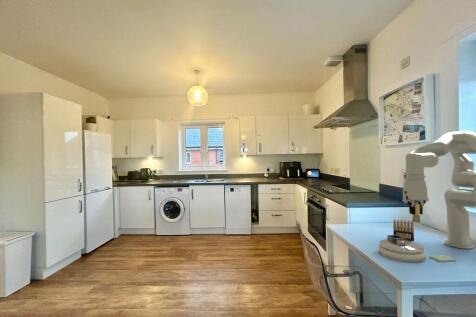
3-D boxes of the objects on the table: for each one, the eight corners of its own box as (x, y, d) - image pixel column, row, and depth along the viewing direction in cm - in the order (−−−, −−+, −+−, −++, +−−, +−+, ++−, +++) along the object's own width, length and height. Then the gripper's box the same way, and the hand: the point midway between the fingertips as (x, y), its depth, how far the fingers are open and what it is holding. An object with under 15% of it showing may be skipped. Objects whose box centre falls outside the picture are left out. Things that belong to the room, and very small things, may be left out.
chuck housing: (405, 247, 143) (405, 241, 143) (436, 261, 123) (436, 254, 123) (370, 249, 141) (370, 242, 141) (396, 263, 121) (396, 256, 121)
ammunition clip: (393, 238, 160) (392, 219, 160) (393, 237, 162) (392, 218, 162) (414, 241, 154) (413, 221, 154) (414, 240, 156) (413, 220, 156)
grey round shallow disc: (374, 241, 143) (374, 234, 143) (411, 242, 140) (411, 235, 140) (388, 253, 124) (388, 245, 124) (432, 255, 121) (432, 246, 121)
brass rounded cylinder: (411, 220, 133) (410, 203, 133) (416, 220, 134) (416, 202, 134) (416, 222, 130) (416, 204, 130) (421, 221, 131) (421, 204, 131)
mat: (444, 256, 129) (444, 255, 129) (455, 261, 123) (455, 259, 123) (429, 257, 128) (429, 255, 128) (440, 262, 122) (440, 260, 122)
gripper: (424, 176, 137) (425, 212, 136) (394, 177, 136) (395, 213, 135) (436, 177, 129) (437, 215, 129) (404, 178, 128) (405, 216, 128)
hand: (415, 213), depth 132 cm, fingers closed on brass rounded cylinder, 3 cm apart
